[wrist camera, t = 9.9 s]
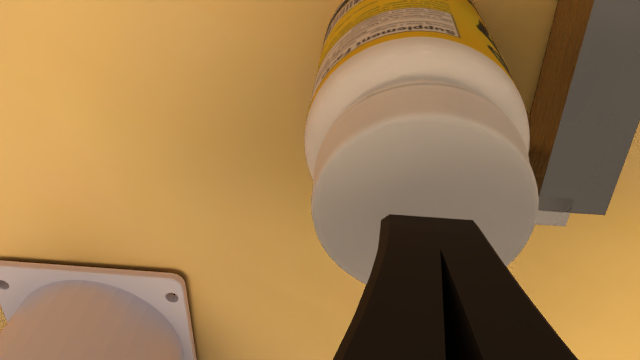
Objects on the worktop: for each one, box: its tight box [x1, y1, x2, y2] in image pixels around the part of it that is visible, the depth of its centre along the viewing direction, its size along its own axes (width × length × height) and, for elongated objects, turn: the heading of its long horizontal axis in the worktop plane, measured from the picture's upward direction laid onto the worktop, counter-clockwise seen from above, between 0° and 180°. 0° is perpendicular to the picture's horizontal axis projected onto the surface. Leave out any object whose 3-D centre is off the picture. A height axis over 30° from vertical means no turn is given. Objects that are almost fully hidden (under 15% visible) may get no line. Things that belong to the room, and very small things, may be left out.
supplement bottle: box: [304, 0, 539, 284], centre depth 14 cm, size 5×5×8 cm
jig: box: [528, 0, 640, 226], centre depth 16 cm, size 9×4×2 cm, turn 179°
